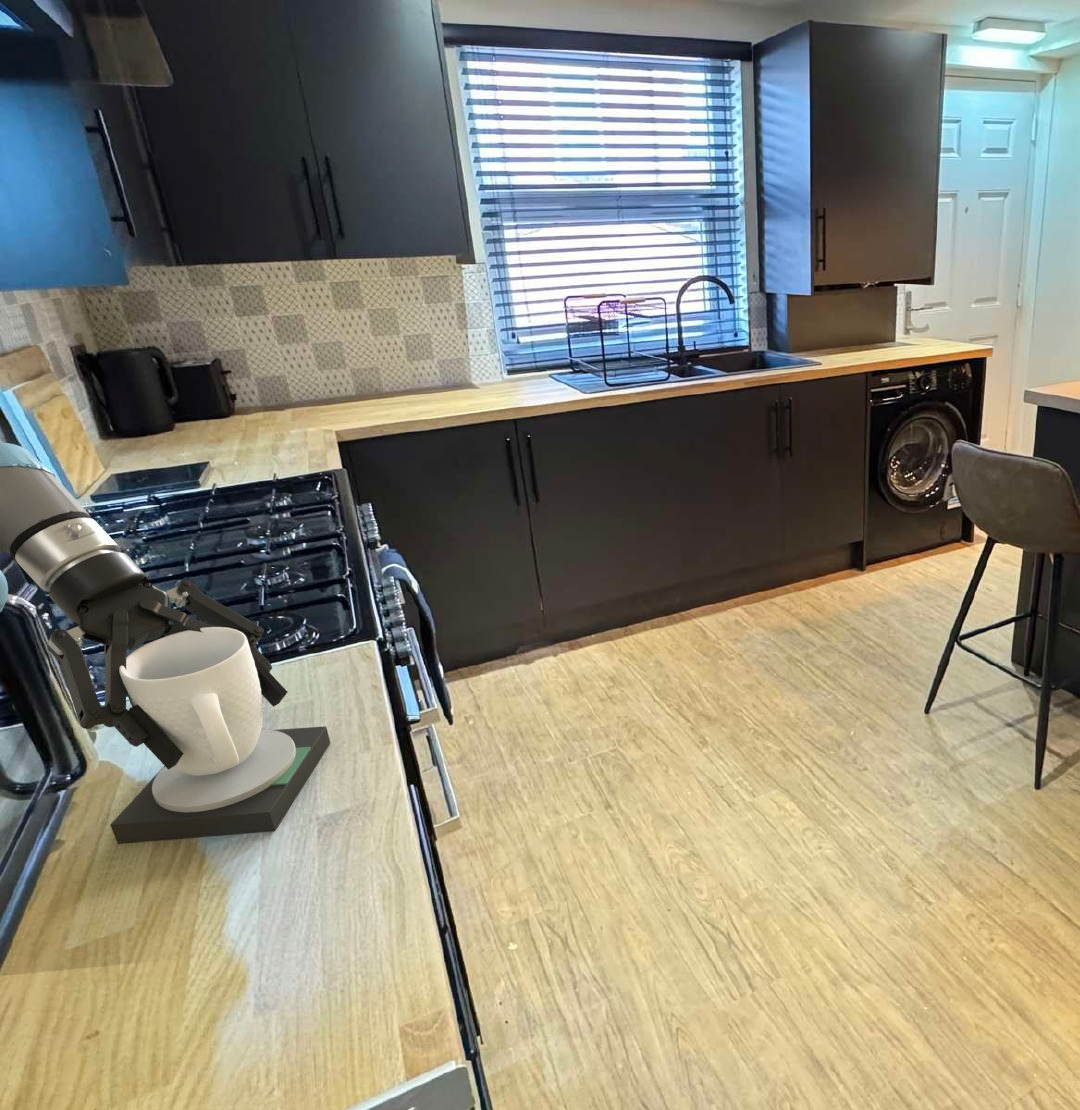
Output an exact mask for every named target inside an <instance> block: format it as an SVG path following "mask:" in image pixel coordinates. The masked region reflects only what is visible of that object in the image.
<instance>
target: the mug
mask: <svg viewBox="0 0 1080 1110" xmlns="http://www.w3.org/2000/svg"><path fill="white" fill-rule="evenodd" d="M200 630H201V631H202V632H198V631H189V630H188V631H183V632H179V633H176V634H172V635H169V636H164V637H159V638H157V639H155V640H152V641H149V642H148V643H146V644H143V645H142V646H139V647H137V649H134V651H132V652H131V653H129V654H128V655H126V669H125V667H124V666H120V668H119V672H120V676H121V678H122V681H123V683H124V685H125V687H126V696H127V699H128V701H129V704H130V705H131V707H133V706H135V705H137V704H138V705H139V706H140V707H141V708H142V709H143V710H144V712H145V713H146V714H147V715H148V716H149V717H150V718H151V719H152V720H153V721H154V722H155V723H156V724H157V725H158V727H159V728H160V729H161V730H162V731H163V732H164V733H165V734H166V735H167V736H168V737H169V738H170V739H171V741H172V742H173V743H174V744H175V745H176V746H177V747H178V748H179V749H180V750H181V751H182V752H183V753H184V754H183V755H182V757H181V758H180V760H179V761H178V763H177V764H176V765H175V766H174V767H175V768H177V769H179V770H180V771H182V772H184V773H187V774H190V775H195V776H203V775H211V774H215V773H219V772H222V771H225V770H227V769H230V768H232V767H234V766H236V765H238V764H239V763H241V762H242V761H244V760H245V759H246V758H247V757H248V756H249V755H250V754H251V753H252V751H253V750H254V748H255V746H256V744H257V742H258V739H259V735H260V732H261V729H262V728H263V720H264V718H263V714H264V707H263V702H264V701H263V695H262V694H261V688H260V682H259V678H258V673H257V670H256V667H255V662H254V660H253V657H252V653H251V650H250V647H249V644H248V640H247V638H246V636H245V635H244V634H243V633H242V632H240V631H238V630H235V629H231V628H225V627H207V628H200Z"/></svg>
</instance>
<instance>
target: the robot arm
mask: <svg viewBox="0 0 1080 1110" xmlns="http://www.w3.org/2000/svg"><path fill="white" fill-rule="evenodd" d="M5 552H7V554H9V555H10V556H11V557H12V558H13V559H14V561H15V562H16V563H17V564H18V565H19V566H20V567H21V568H22V569H23V571H25V573H26V574H27V575H28V576H29V577H30V578H31V580H33V582H35V584H36V585H37V586H38V587H39V588H40V589H41V590H42V591H43V592H45V593H48V596H49V598H50V599H51V601H52V602H53V603H54V604H55V605H56V606H57V607H58V608H59V609H60V611H62V613H63V614H65V616H66V617H67V618H68V619H69V620H71V621H72V622H74V624H75V626H74V627H71V628H69V629H67V630H65V629H62V628H61V629H60V628H59V629H55V630H53V631H52V633H51V634H50V635H51V636H50V638H49V640H48V643H47V645H46V649H47V650H48V652H49V653H50V654H51V655H52V656H53V657H54V658H55V659H56V660H57V661H58V662H59V663H60V667H61V670H62V673H63V676H64V679H65V682H66V686H67V688H68V693H69V695H70V698H71V701H72V705H73V708H74V711H75V714H76V717H77V720H78V723H79V726H80V728H82V729H84V730H90V729H93V728H94V727H96V726H100V725H104V726H105V727H106V728H115V729H116V730H117V732H118V733H119V734H120V735H121V736H122V737H123V738H124V739H125V740H126V741H127V742H128V743H129V744H130V746H133V747H134V748H135V747H136V748H137V747H140V746H141V745H144V746H145V747H146V748H147V749H148V750H149V751H150V752H151V753H152V754H153V755H154V756H155V757H156V758H157V760H158V761H159V762H160V763H161V764H162V765H163V767H164V766H165V767H166V768H167V769H168V770H169V769H170V768H172V767H174V766H175V765H176V764H177V763H178V761H179V760H180V758H181V757H182V755H183V754H184V753H183V752H182V751H181V750H180V749H179V748H178V747H177V746H176V745H175V744H174V743H173V742H172V741H171V739H170V738H169V737H168V736H167V735H166V734H165V733H164V732H163V731H162V730H161V729H160V728H159V727H158V725H157V724H156V723H155V722H154V721H153V720H152V719H151V718H150V717H149V716H148V715H147V714H146V713H145V712H144V710H143V709H142V708H141V707H140V706H139V705H138V704H137V705H135V706H133V707H132V706H131V707H129V709H128V708H127V693H126V687H125V685H124V683H123V681H122V678H121V676H120V672H119V668H120V666H124V667H125V669H126V657H127V651H128V650H129V651H132V650H136V648H137V649H138V648H139V647H141V645H143V644H144V643H147V642H152V641H155V640H157V639H160V638H162V636H164V637H166V636H169V635H172V634H176V633H179V632H183V631H188V630H189V631H198V632H202V631H201V630H200V628H207V627H225V628H231V629H235V630H238V631H240V632H242V633H243V634H244V635H245V636H246V638H247V640H248V644H249V647H250V650H251V653H252V657H253V660H254V662H255V667H256V670H257V673H258V678H259V682H260V688H261V694H262V697H264V698H265V700H266V701H267V702H268V703H269V704H270V705H271V706H272V707H276V706H277V705H279V704H280V703H281V701H282V700H283V699H284V698H285V697H286V695H287V694H288V690H286V688H285V687H284V686H283V685H282V684H281V683H280V681H278V680H277V678H275V677H274V675H273V674H272V673H271V671H272V670H273V666H272V663H270V660H268V659H267V658H266V657H265V656H264V655H263V654H262V653H261V651H260V650H259V649H258V648H257V647H256V645H257V643H259V640H260V639H261V637H262V635H263V634H264V628H262V626H259V625H258V624H256V623H255V622H253V621H251V620H249V619H248V618H246V617H244V616H242V615H241V614H239V613H238V612H236V611H234V610H232V609H231V608H229V607H227V606H226V605H223V604H222V603H220V602H219V601H217V600H215V599H213V598H211V597H210V596H208V595H206V594H204V593H203V592H202V591H201V590H200V589H199V588H198V587H197V586H196V585H195V584H194V582H193V581H192V580H190V579H182V580H181V581H180V582H179V584H178V585H177V586H175V587H173V588H170V589H167V590H165V591H164V590H163V589H160V588H157V587H156V586H154V585H153V583H152V582H151V581H150V579H149V577H148V576H147V575H146V573H144V571H143V570H142V569H141V568H140V567H139V566H138V565H137V564H136V563H135V561H133V560H132V558H131V557H130V556H129V555H128V554H127V553H125V552H122V549H121V547H120V546H119V545H118V543H116V541H114V539H113V538H111V536H110V535H109V534H108V533H107V532H106V531H105V530H104V529H103V528H102V526H100V525H99V524H98V522H97V521H95V519H94V518H93V516H92V515H90V514H89V513H88V511H86V509H85V508H84V507H83V506H82V504H80V503H79V501H77V499H76V498H75V497H74V496H73V495H72V494H71V493H70V491H69V490H68V489H67V488H66V487H65V486H64V484H62V482H60V480H59V479H58V478H57V477H56V475H55V473H54V472H53V471H52V470H50V469H48V468H47V467H46V466H45V465H44V464H43V463H42V462H41V461H40V460H39V459H38V458H36V457H35V456H34V455H33V454H32V453H31V452H30V451H29V450H28V449H26V448H25V447H23V446H20V445H18V444H15V443H8V442H0V554H3V553H5ZM8 596H9V585H8V581H7V577H6V576H5V574H4V573H3V571H2V570H1V569H0V613H2V611H3V609H4V607H5V605H6V603H7V600H8ZM170 604H174V605H176V607H177V608H184V609H185V611H187V612H188V613H190V614H192V615H194V617H197V618H199V619H200V620H199V619H196V618H192V617H189V616H188V614H187V613H186V612H184V611H181V610H178V609H175V608H172V607H170ZM201 620H203V621H201ZM170 622H171V623H172V624H171V623H170ZM83 640H86V641H89V642H93V643H97V644H101V645H104V657H103V658H104V659H103V660H104V661H103V662H104V664H105V665H104V666H105V667H104V668H105V669H104V705H101V704H100V702H99V701H100V700H99V698H98V695H97V693H96V689H95V685H94V683H93V680H92V677H91V673H90V671H89V667H88V665H87V664H88V663H87V661H86V658H85V655H84V653H83V649H82V646H83V644H84V643H83Z"/></svg>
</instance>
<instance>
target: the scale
mask: <svg viewBox="0 0 1080 1110" xmlns="http://www.w3.org/2000/svg"><path fill="white" fill-rule="evenodd" d="M330 745H331V739H330V735H329V731H328V726H327V725H325V726H312V727H298V728H297V727H296V728H295V727H294V728H282V729H262V728H261V732H260V735H259V739H258V742H257V744H256V746H255V748H254V750H253V751H252V753H251V754H250V755H249V756H248V757H247V758H246V759H245V760H244V761H242V762H241V763H239V764H238V765H236V766H234V767H232V768H230V769H227V770H225V771H222V772H219V773H215V774H211V775H203V776H195V775H190V774H187V773H184V772H182V771H180V770H179V769H177V768H175V767H172V768H170V769H169V770H168V769H167V768H166V767H165V766H164V765H163V767H162V768H161V769H159V771H158V772H157V773H156V774H155V775H154V776H153V777H152V779H150V780H149V782H148V783H147V784H146V785H145V786H144V787H143V788H142V789H141V790H140V792H139V793H138V794H137V795H136V796H135V797H134V798H133V799H132V800H131V801H130V802H129V804H128V805H127V806H126V807H125V808H124V809H123V810H122V812H120V813H119V814H118V815H117V817H116V818H115V819H114V820H113V821H112V822H111V823H110V828H111V831H112V833H113V835H114V838H115V841H116V843H117V844H118V845H119V844H130V843H132V844H133V843H143V842H154V841H156V842H157V841H167V840H168V841H169V840H180V839H182V840H183V839H191V838H205V837H218V836H229V835H242V834H255V833H264V832H267V833H268V832H275V831H276V830H277V829H278V827H279V825H281V822H282V821H283V819H284V817H285V816H286V814H287V813H288V811H289V810H290V808H291V806H292V805H293V803H294V802H295V800H296V799H297V797H298V795H299V794H300V792H301V791H302V789H303V787H304V786H305V784H306V782H307V781H308V779H309V778H310V776H311V775H312V773H313V772H314V770H315V768H316V767H317V765H318V763H319V762H320V760H321V759H322V757H323V756H324V754H325V753H326V751H327V749H328V748H329V746H330Z"/></svg>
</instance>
